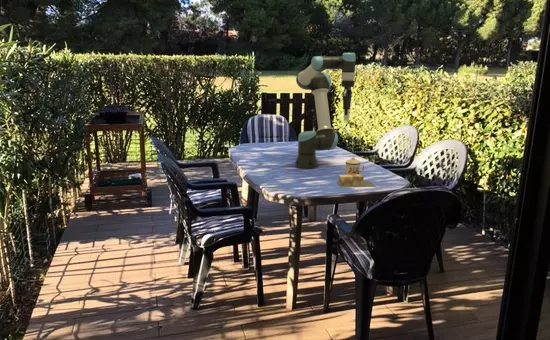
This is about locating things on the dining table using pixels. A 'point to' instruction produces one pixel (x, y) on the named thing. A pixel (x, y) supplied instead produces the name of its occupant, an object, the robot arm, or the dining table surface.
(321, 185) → the dining table surface
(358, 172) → the teacup with lid
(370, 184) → the mat
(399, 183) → the dining table surface
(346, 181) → the birch block
